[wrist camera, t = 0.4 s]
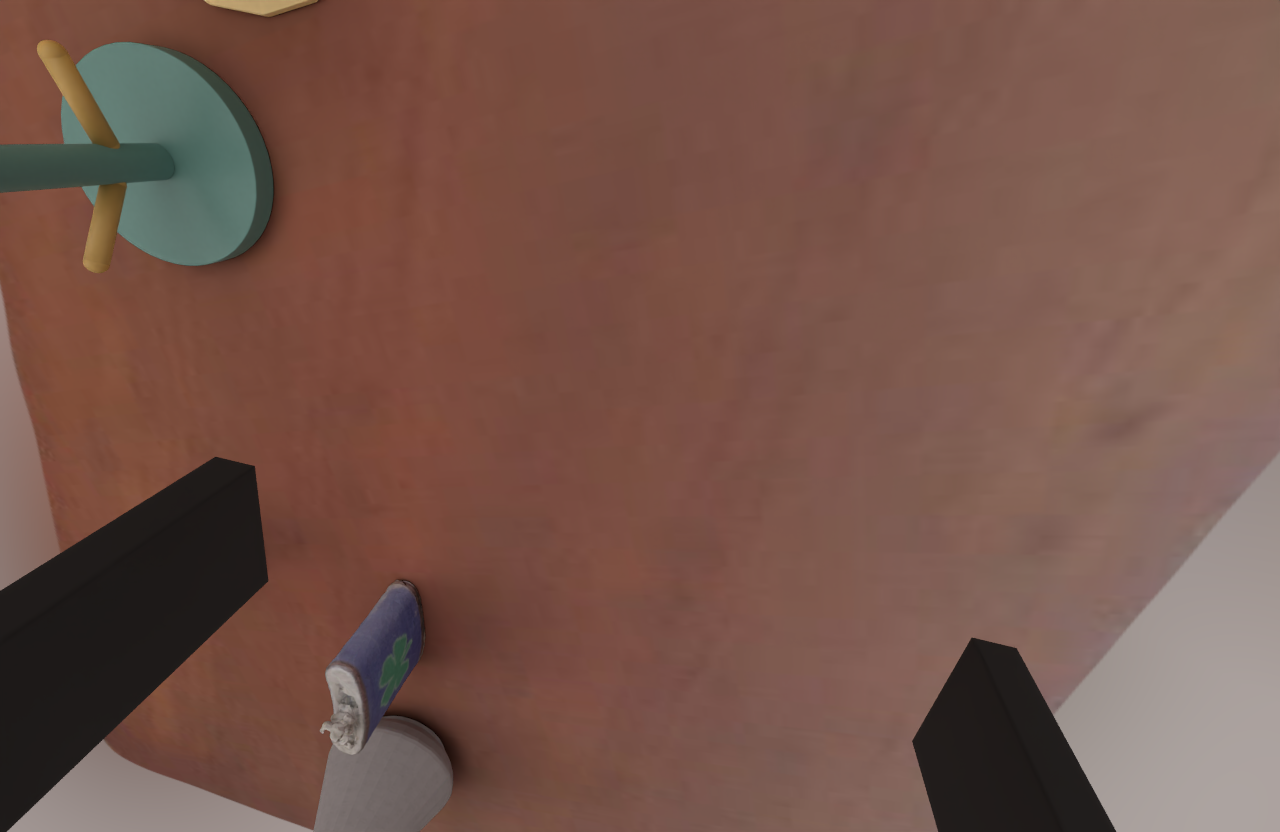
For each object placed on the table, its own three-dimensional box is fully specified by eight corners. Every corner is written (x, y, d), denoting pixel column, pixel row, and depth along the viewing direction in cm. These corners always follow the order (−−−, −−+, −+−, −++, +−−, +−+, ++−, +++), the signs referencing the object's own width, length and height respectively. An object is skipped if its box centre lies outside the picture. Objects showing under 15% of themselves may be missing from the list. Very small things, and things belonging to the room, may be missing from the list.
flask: (389, 575, 48) (304, 685, 39) (424, 583, 48) (348, 695, 39) (393, 659, 52) (317, 777, 43) (426, 666, 52) (357, 786, 43)
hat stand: (65, 26, 34) (-666, -94, 16) (265, 68, 34) (-267, -10, 16) (107, 240, 40) (-414, 325, 22) (281, 279, 39) (-107, 400, 21)
